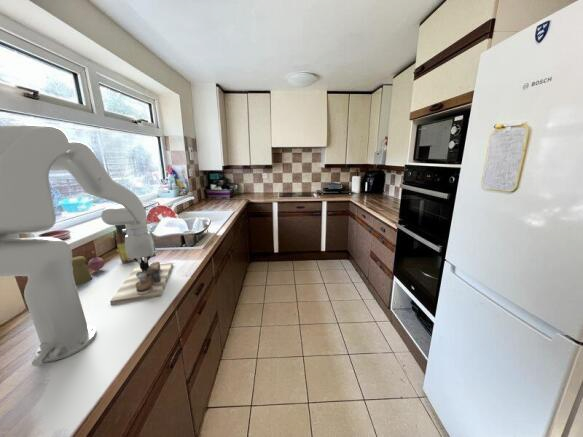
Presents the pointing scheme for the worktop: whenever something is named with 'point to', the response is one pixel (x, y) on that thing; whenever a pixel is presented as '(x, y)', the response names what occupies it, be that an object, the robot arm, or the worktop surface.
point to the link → (146, 278)
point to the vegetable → (96, 262)
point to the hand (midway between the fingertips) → (145, 269)
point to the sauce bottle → (121, 243)
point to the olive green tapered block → (80, 270)
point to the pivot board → (129, 286)
